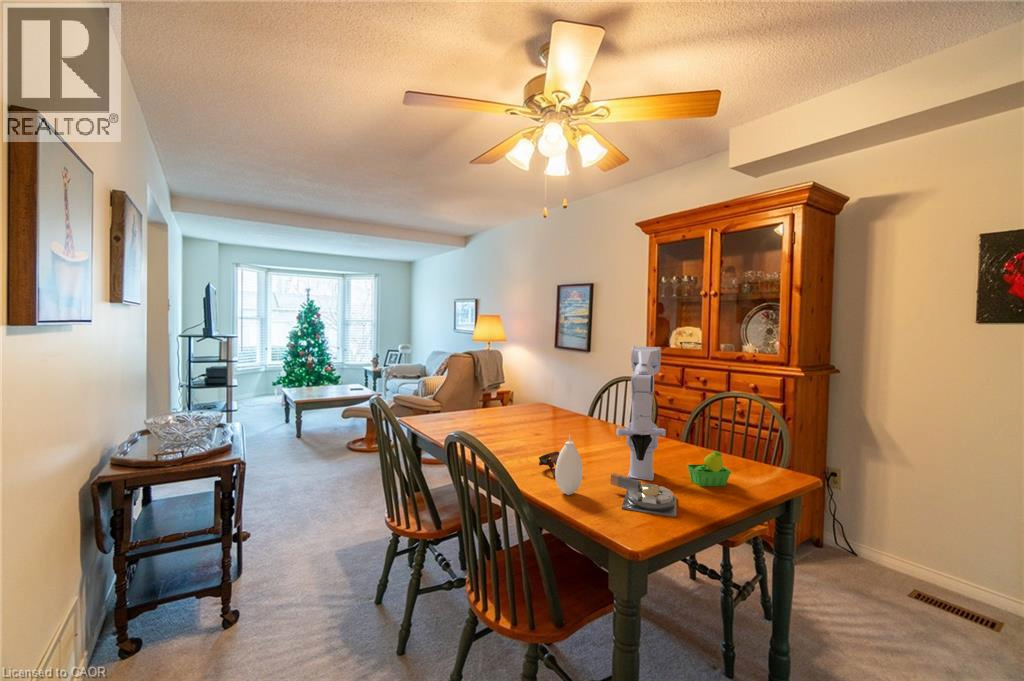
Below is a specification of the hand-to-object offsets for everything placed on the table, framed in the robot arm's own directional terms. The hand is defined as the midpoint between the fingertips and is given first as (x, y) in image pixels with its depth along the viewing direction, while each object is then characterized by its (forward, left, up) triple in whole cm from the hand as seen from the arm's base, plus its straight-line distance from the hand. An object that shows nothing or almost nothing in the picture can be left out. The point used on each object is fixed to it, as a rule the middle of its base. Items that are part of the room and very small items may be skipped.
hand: (639, 459), depth 136 cm
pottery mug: (-7, -27, -10) cm, 30 cm away
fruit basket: (-16, +21, -10) cm, 28 cm away
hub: (+8, +4, -10) cm, 13 cm away
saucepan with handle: (+8, +1, -8) cm, 11 cm away
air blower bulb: (+10, -19, -10) cm, 24 cm away
